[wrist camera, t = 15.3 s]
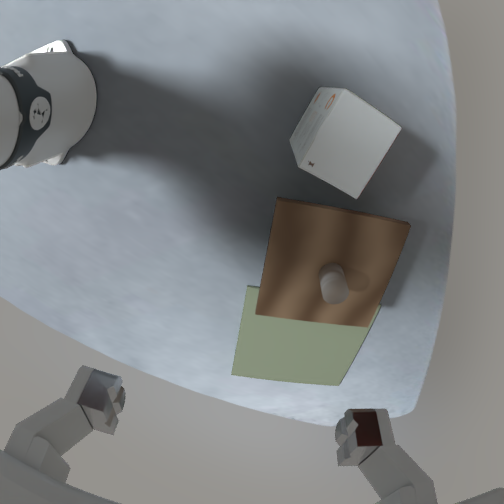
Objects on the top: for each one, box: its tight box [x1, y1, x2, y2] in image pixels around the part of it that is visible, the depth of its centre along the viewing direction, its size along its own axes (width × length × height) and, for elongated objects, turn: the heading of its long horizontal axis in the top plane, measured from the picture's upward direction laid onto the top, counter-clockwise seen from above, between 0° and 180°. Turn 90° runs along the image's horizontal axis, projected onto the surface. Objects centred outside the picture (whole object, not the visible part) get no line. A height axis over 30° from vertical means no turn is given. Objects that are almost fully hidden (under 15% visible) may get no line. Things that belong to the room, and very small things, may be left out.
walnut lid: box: [255, 197, 411, 328], centre depth 36 cm, size 16×16×5 cm
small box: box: [289, 87, 402, 199], centre depth 30 cm, size 8×6×13 cm
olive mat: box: [231, 285, 381, 386], centre depth 54 cm, size 22×22×1 cm
